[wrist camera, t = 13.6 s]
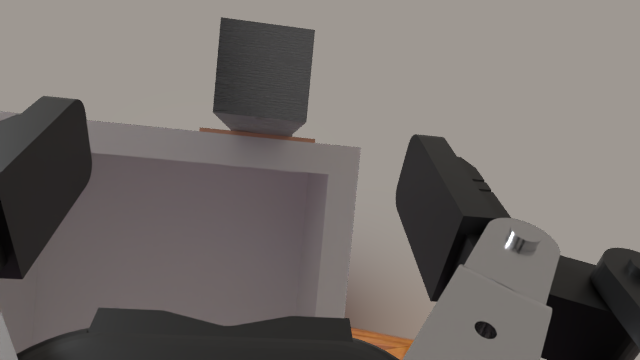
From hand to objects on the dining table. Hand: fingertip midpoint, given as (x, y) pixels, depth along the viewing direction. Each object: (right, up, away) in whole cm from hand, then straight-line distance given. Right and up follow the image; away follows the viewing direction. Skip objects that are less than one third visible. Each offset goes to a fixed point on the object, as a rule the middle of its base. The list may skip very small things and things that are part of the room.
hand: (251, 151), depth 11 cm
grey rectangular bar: (-1, +2, +13) cm, 13 cm away
